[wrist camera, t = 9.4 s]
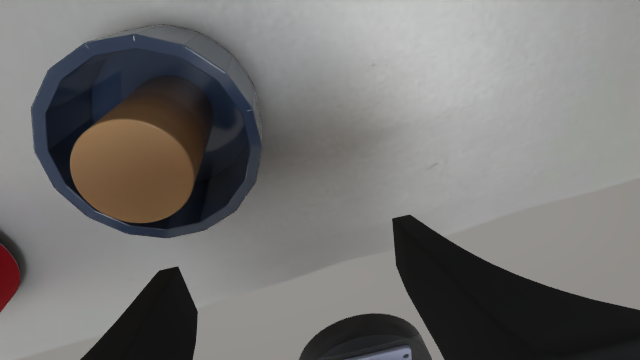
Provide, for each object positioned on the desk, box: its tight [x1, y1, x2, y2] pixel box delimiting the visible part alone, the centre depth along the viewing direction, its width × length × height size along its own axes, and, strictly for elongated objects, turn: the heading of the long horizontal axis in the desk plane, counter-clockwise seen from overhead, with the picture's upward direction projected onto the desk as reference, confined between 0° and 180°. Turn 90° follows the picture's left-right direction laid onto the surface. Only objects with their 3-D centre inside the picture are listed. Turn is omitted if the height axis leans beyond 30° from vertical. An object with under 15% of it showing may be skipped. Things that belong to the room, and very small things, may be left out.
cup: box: [31, 24, 262, 238], centre depth 17 cm, size 9×9×5 cm
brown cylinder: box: [70, 76, 213, 223], centre depth 16 cm, size 4×4×7 cm
